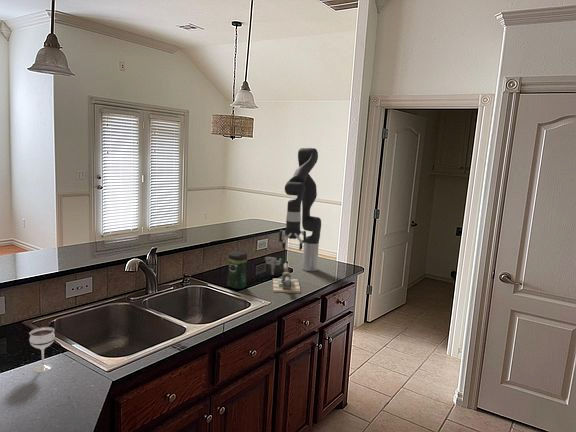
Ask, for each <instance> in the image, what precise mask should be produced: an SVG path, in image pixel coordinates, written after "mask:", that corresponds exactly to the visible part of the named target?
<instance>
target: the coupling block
mask: <svg viewBox="0 0 576 432" xmlns="http://www.w3.org/2000/svg"><path fill="white" fill-rule="evenodd" d="M291 276H292V275H291V272H289V271H288V272H284V271H283V279H282V278H281V279H282V283H283V281H285V278H286V277H289V278H290V279H292V278H291Z"/></svg>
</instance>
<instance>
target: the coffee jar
mask: <svg viewBox="0 0 576 432" xmlns="http://www.w3.org/2000/svg"><path fill="white" fill-rule="evenodd" d="M227 261H228V273H227V275H228V276H227V281H226V284H227V285H226V286H227V287H230V288H232V289H237V290H239V289H240V290H241V289H244V288H246V287H247V262H248V254H247V253H245V252H241V251H237V250H233V251H230V252H229V253H228V260H227Z"/></svg>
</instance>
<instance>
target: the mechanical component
mask: <svg viewBox="0 0 576 432" xmlns="http://www.w3.org/2000/svg"><path fill="white" fill-rule="evenodd" d="M264 261H265V263H266V265H270V268H271V275H272V276H274V275H275V268H276V266H280V265H281V264H282V262H283V258H279V259H277V258H276V257H273V256H266V257H264Z"/></svg>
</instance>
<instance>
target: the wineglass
mask: <svg viewBox="0 0 576 432" xmlns="http://www.w3.org/2000/svg"><path fill="white" fill-rule="evenodd" d="M28 333H29V334H28V335H30V336H29V340H28V341H29V344H30V346H32V347H33V348H35V349H38V350H40V351H41V353H40V354H41V365H38V366H35V367H34V368H33V371H34V372H35V373H46V372H48V371H50V370H51V369H53V365H52V364H50V363H49V364H48V363H47V364H44V363H45V349H46V348H48V347H49V346H51V345H52V344H53V343H54V342H55V339H56V335H55V328H54V327H50V326H44V327H37V328H35V329H32V330H31V331H30V332H28Z"/></svg>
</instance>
